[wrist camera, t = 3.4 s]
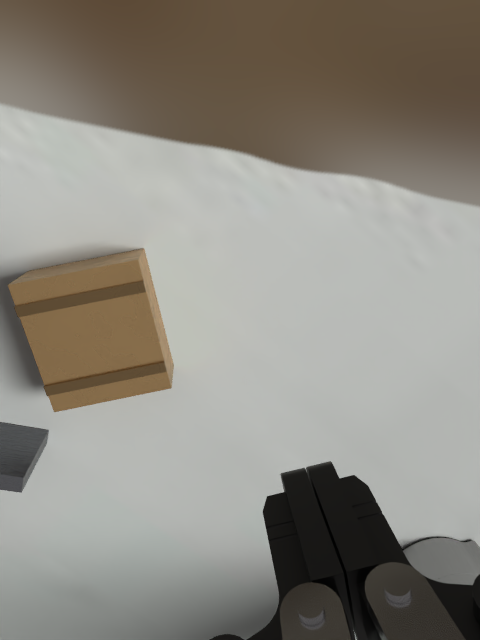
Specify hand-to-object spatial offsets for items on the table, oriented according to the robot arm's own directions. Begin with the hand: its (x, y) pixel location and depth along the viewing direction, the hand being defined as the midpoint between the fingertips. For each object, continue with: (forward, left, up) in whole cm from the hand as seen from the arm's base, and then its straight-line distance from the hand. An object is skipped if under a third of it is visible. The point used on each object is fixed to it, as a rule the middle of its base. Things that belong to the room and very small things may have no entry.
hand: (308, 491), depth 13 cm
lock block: (+10, 0, -22) cm, 24 cm away
